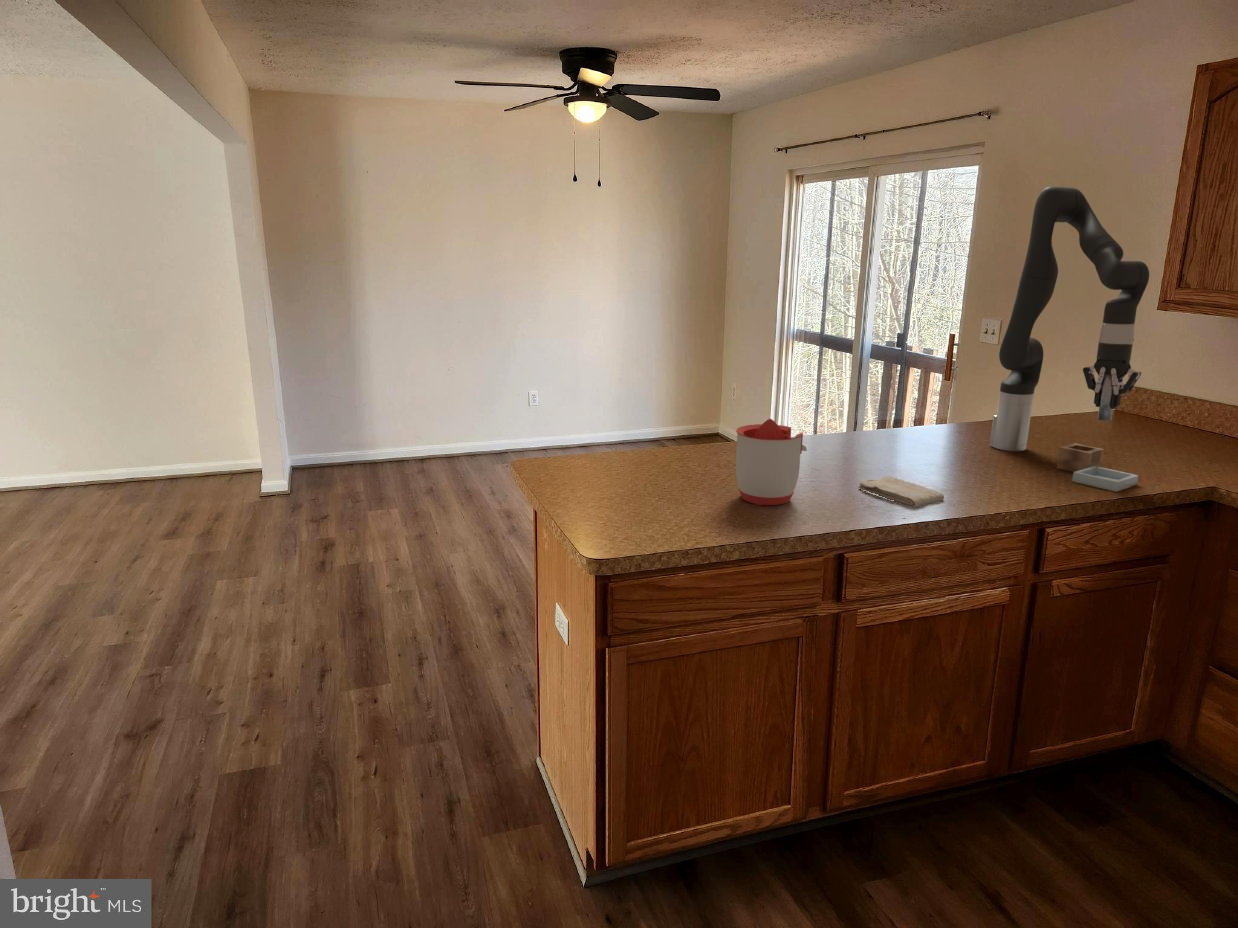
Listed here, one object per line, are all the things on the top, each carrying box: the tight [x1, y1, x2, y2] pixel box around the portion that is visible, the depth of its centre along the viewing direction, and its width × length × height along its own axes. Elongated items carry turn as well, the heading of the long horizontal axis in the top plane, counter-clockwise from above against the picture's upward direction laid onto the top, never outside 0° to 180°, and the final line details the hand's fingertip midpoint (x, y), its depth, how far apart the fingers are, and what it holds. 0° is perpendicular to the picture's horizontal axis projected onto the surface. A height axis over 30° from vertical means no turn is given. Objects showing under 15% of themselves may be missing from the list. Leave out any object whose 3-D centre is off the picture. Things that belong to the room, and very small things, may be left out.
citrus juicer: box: [735, 418, 807, 506], centre depth 194 cm, size 16×17×20 cm
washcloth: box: [857, 475, 945, 508], centre depth 200 cm, size 12×18×3 cm, turn 33°
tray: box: [1071, 466, 1139, 493], centre depth 211 cm, size 11×11×2 cm
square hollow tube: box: [1056, 443, 1105, 473], centre depth 223 cm, size 8×8×6 cm
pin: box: [1097, 374, 1114, 421], centre depth 211 cm, size 3×3×12 cm
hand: (1106, 407), depth 212 cm, fingers closed on pin, 3 cm apart
